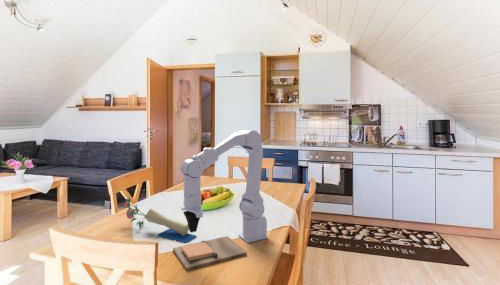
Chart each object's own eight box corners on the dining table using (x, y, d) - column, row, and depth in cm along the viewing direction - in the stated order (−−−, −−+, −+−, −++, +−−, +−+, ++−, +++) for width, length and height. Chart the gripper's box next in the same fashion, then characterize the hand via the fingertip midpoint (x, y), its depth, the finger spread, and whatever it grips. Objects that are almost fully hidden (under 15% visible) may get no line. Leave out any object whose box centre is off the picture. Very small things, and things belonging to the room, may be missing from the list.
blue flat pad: (185, 242, 111) (157, 234, 118) (185, 245, 112) (157, 236, 118) (197, 235, 118) (169, 228, 125) (197, 238, 118) (169, 230, 125)
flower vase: (177, 255, 117) (112, 225, 129) (194, 236, 128) (132, 210, 139) (176, 233, 112) (109, 204, 123) (194, 215, 122) (130, 190, 134)
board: (227, 238, 116) (227, 233, 116) (246, 254, 102) (246, 248, 102) (173, 250, 105) (172, 244, 105) (186, 270, 92) (186, 264, 91)
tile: (181, 246, 103) (181, 249, 103) (189, 257, 95) (189, 260, 95) (204, 242, 108) (204, 245, 108) (214, 251, 100) (214, 255, 100)
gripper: (175, 190, 105) (176, 226, 106) (187, 200, 92) (188, 241, 93) (193, 188, 108) (194, 223, 109) (208, 197, 96) (208, 236, 97)
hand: (193, 231), depth 102 cm, fingers closed
